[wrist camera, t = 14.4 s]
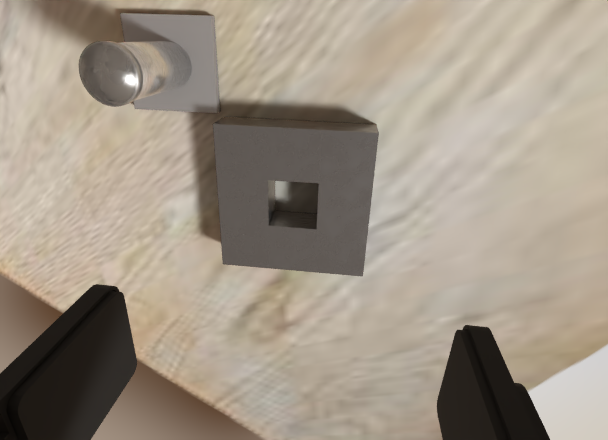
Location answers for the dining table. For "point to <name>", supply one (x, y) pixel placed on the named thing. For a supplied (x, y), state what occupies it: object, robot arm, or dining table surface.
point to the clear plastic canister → (132, 70)
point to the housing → (295, 168)
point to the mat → (199, 46)
